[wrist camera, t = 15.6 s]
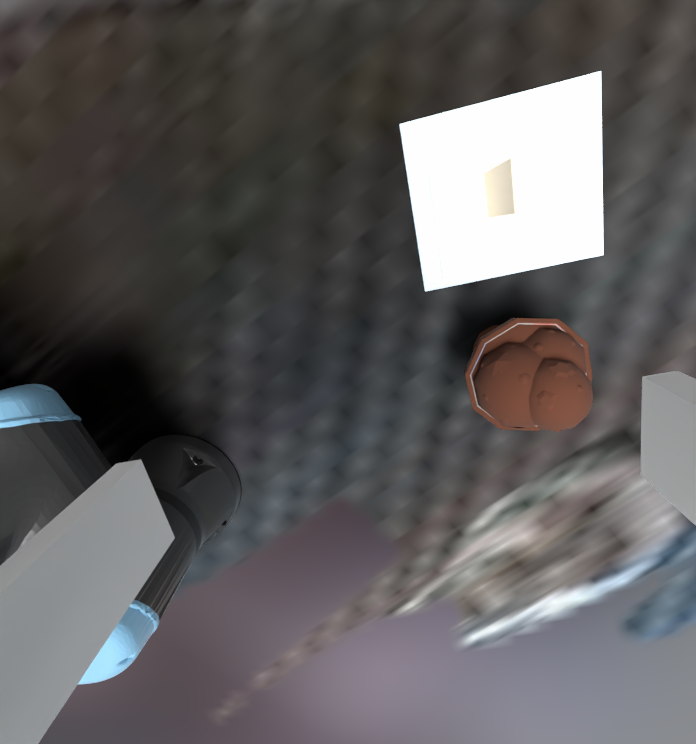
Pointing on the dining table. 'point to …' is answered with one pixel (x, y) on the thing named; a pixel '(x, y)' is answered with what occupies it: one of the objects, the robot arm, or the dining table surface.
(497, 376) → the ice cream bowl
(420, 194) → the mat
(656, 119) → the dining table surface
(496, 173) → the lid
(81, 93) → the dining table surface
